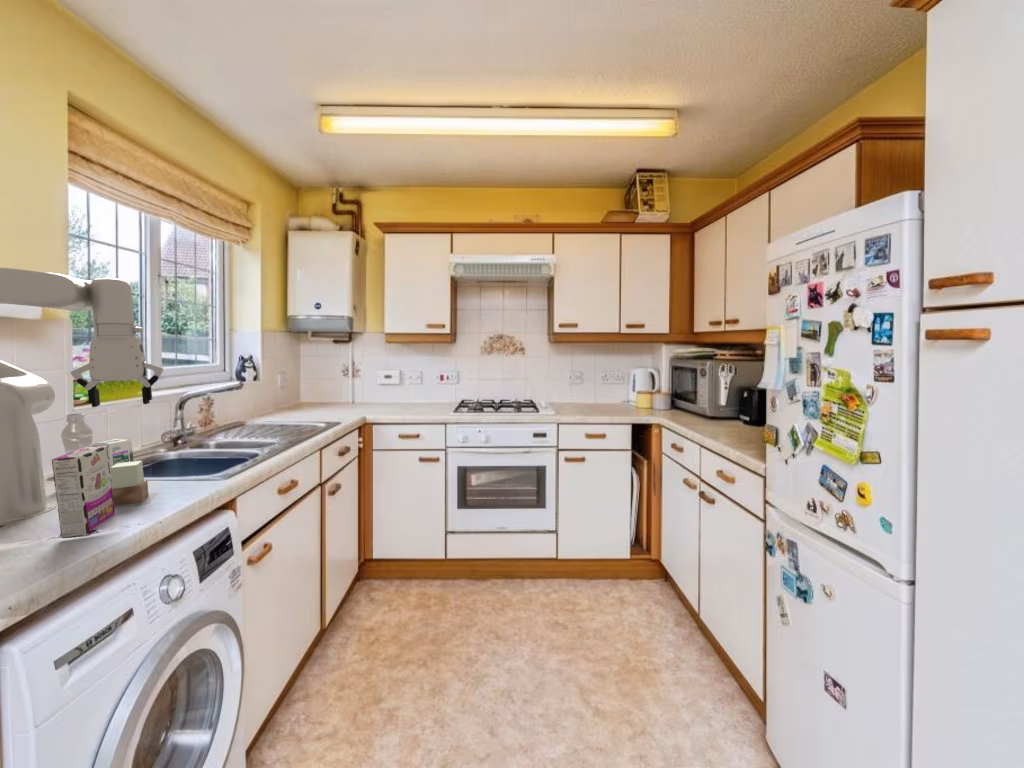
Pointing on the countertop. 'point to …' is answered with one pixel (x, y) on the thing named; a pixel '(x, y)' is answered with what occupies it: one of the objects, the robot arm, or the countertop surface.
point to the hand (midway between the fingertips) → (121, 404)
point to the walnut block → (130, 494)
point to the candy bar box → (83, 490)
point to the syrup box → (117, 451)
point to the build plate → (146, 501)
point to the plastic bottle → (76, 433)
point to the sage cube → (127, 474)
